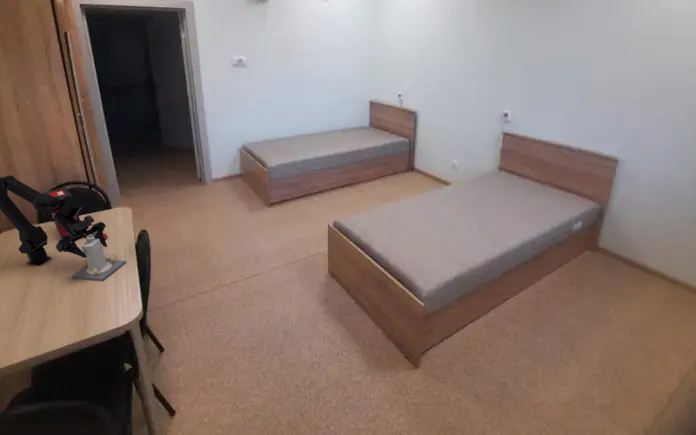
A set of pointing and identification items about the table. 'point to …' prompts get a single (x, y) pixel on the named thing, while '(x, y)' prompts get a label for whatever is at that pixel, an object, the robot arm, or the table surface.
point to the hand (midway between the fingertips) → (96, 251)
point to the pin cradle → (99, 275)
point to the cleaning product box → (60, 195)
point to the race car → (103, 235)
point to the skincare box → (94, 254)
